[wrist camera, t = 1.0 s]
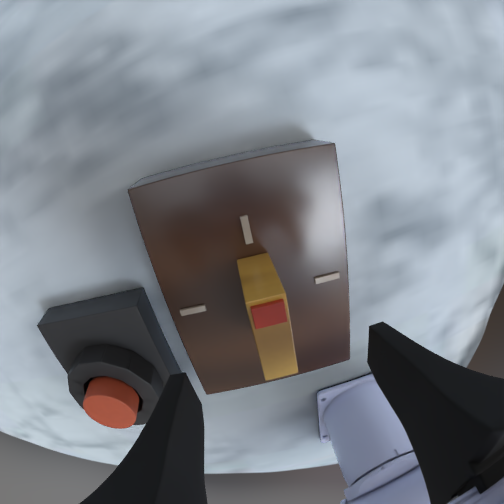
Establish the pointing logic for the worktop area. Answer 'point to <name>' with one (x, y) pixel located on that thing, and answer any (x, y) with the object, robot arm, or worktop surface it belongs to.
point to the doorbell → (111, 345)
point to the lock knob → (268, 315)
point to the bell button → (111, 402)
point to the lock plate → (246, 245)
